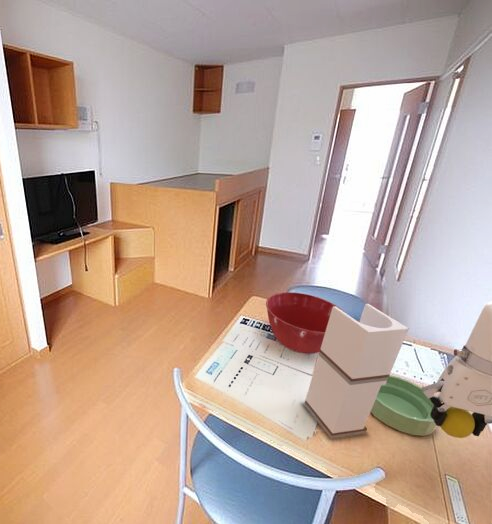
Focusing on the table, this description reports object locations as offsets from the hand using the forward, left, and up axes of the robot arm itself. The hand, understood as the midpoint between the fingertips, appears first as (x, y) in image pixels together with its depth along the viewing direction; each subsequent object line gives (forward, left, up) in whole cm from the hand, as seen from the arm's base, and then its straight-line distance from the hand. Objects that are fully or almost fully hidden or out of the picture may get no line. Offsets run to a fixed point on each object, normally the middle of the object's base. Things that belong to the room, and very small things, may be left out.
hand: (453, 425), depth 67 cm
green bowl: (0, -21, -17) cm, 27 cm away
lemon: (0, 0, -3) cm, 3 cm away
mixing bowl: (+26, -45, -17) cm, 55 cm away
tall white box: (+18, -10, -17) cm, 27 cm away
